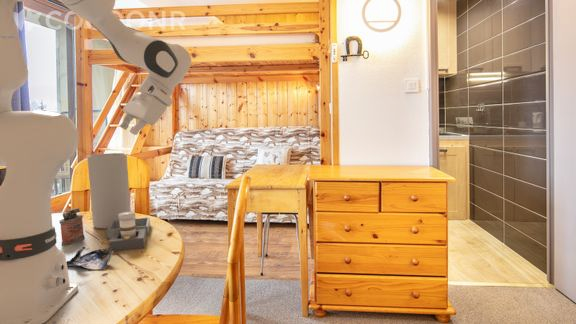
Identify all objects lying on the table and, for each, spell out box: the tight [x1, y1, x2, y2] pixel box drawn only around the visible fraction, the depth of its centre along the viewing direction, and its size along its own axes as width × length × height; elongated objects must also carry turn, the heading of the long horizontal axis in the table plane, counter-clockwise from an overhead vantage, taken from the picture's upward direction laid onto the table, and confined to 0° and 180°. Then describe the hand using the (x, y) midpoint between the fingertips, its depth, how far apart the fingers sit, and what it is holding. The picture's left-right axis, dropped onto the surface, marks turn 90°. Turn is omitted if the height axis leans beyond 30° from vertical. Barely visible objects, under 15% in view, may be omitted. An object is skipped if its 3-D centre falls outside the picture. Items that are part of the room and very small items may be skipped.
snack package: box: [66, 245, 115, 271], centre depth 100 cm, size 12×6×12 cm
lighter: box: [59, 207, 85, 247], centre depth 119 cm, size 8×3×10 cm, turn 168°
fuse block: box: [109, 229, 147, 253], centre depth 115 cm, size 10×9×4 cm
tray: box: [106, 216, 151, 240], centre depth 128 cm, size 12×12×3 cm
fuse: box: [118, 211, 137, 238], centre depth 115 cm, size 5×5×10 cm
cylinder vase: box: [86, 152, 132, 230], centre depth 137 cm, size 12×12×25 cm
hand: (127, 130), depth 115 cm, fingers open, 8 cm apart
